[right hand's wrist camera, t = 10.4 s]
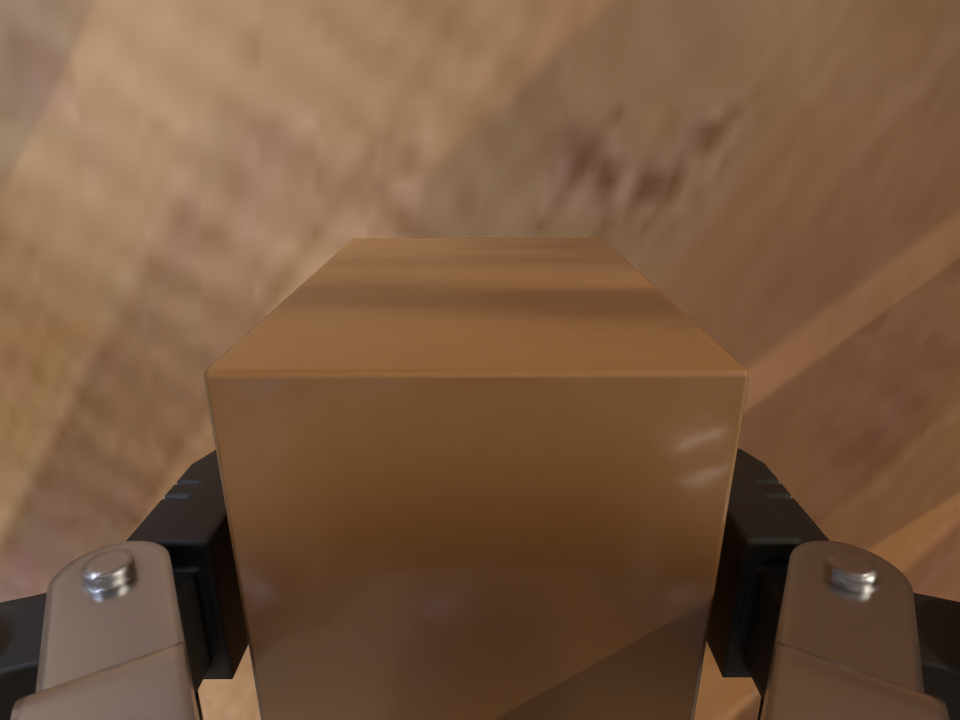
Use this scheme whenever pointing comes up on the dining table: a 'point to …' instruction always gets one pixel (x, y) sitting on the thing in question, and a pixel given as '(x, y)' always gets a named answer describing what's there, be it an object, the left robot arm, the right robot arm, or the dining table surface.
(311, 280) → the bar
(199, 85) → the dining table surface
